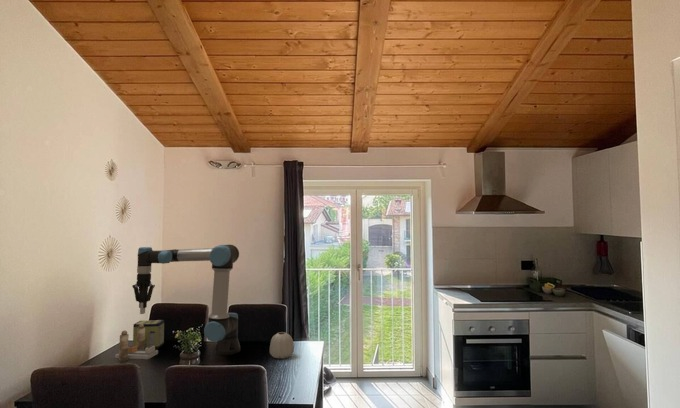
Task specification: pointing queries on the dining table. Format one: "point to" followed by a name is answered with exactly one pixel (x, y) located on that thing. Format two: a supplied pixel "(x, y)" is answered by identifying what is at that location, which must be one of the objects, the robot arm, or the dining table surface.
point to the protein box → (151, 333)
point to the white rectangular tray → (140, 354)
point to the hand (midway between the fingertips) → (142, 313)
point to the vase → (281, 345)
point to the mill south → (141, 337)
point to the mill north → (123, 346)
